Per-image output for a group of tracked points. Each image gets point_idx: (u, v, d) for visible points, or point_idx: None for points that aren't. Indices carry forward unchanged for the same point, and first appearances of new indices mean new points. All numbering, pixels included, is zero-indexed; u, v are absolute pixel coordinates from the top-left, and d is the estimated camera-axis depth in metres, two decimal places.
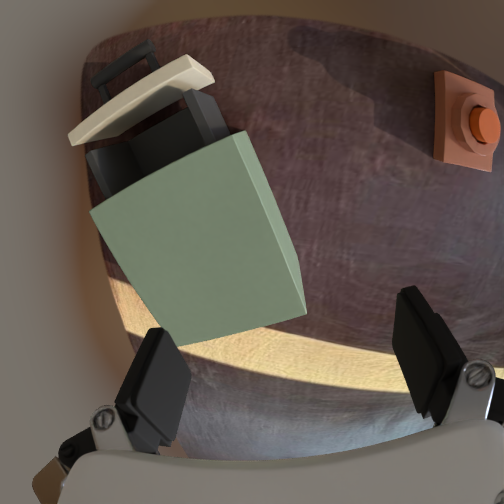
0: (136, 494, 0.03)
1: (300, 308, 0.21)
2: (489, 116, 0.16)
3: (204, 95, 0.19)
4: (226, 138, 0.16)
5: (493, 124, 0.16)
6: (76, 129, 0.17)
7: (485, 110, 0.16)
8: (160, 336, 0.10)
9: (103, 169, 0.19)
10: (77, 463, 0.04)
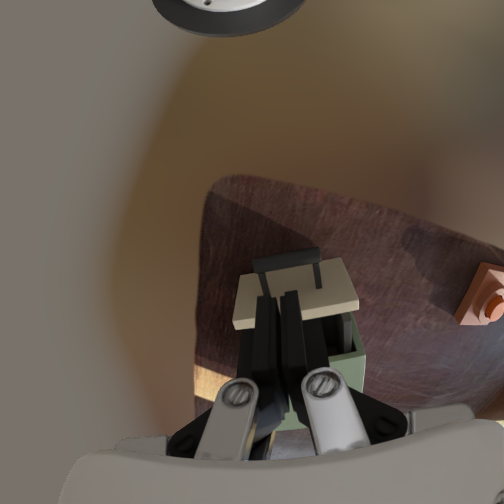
0: (136, 494, 0.03)
1: None
2: (501, 306, 0.27)
3: None
4: (361, 356, 0.25)
5: (501, 310, 0.27)
6: (244, 321, 0.24)
7: (500, 303, 0.26)
8: (273, 302, 0.10)
9: None
10: (77, 463, 0.04)
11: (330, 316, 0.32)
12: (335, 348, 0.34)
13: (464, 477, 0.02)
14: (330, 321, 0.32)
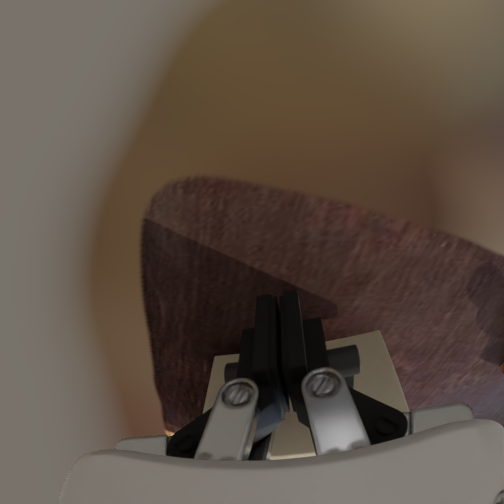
0: (136, 494, 0.03)
1: None
2: None
3: None
4: None
5: None
6: None
7: None
8: (273, 302, 0.10)
9: None
10: (77, 463, 0.04)
11: None
12: None
13: (464, 477, 0.02)
14: None
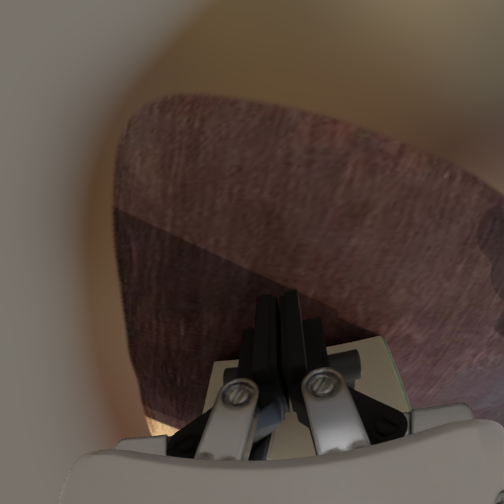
0: (136, 494, 0.03)
1: None
2: None
3: None
4: None
5: None
6: None
7: None
8: (273, 302, 0.10)
9: None
10: (77, 463, 0.04)
11: None
12: None
13: (464, 477, 0.02)
14: None
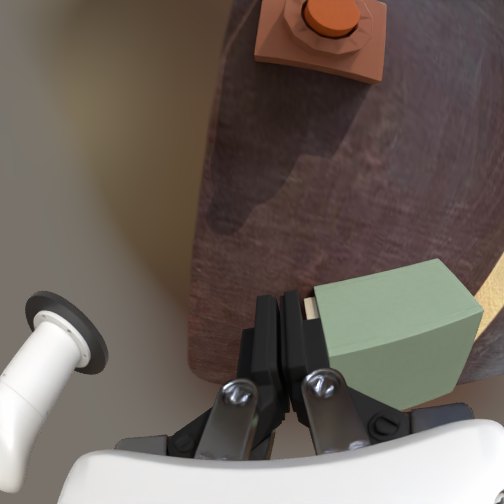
0: (136, 494, 0.03)
1: (477, 315, 0.17)
2: (319, 7, 0.12)
3: None
4: (330, 360, 0.19)
5: (330, 2, 0.12)
6: None
7: (312, 13, 0.12)
8: (273, 302, 0.10)
9: None
10: (77, 463, 0.04)
11: None
12: None
13: (464, 477, 0.02)
14: None
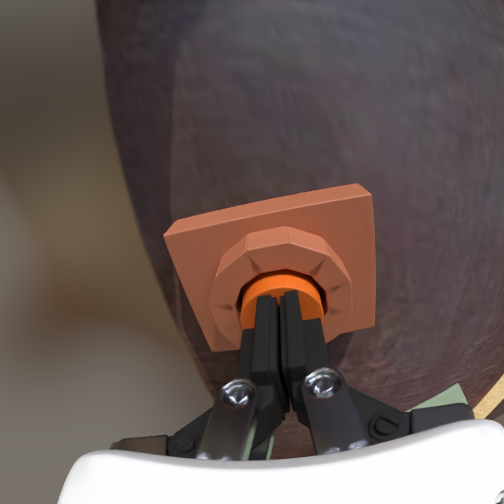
0: (136, 494, 0.03)
1: None
2: None
3: None
4: None
5: None
6: None
7: None
8: (273, 302, 0.10)
9: None
10: (77, 463, 0.04)
11: None
12: None
13: (464, 477, 0.02)
14: None
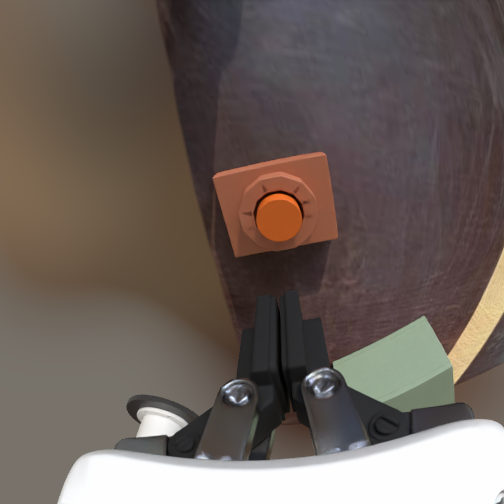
0: (136, 494, 0.03)
1: (447, 370, 0.23)
2: (266, 225, 0.22)
3: None
4: None
5: (274, 215, 0.21)
6: None
7: (263, 233, 0.22)
8: (273, 302, 0.10)
9: None
10: (77, 463, 0.04)
11: None
12: None
13: (464, 477, 0.02)
14: None
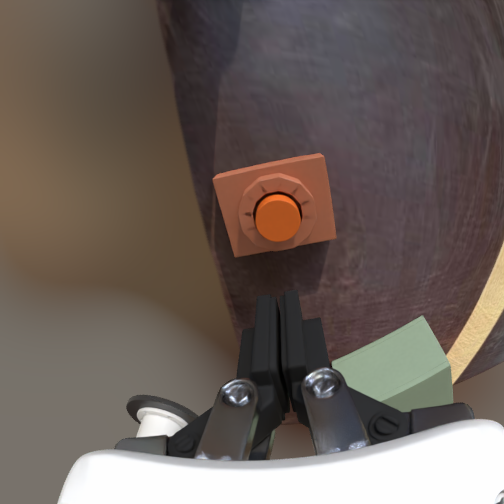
0: (136, 494, 0.03)
1: (445, 369, 0.24)
2: (265, 225, 0.22)
3: None
4: None
5: (273, 215, 0.22)
6: None
7: (262, 233, 0.23)
8: (273, 302, 0.10)
9: None
10: (77, 463, 0.04)
11: None
12: None
13: (464, 477, 0.02)
14: None
